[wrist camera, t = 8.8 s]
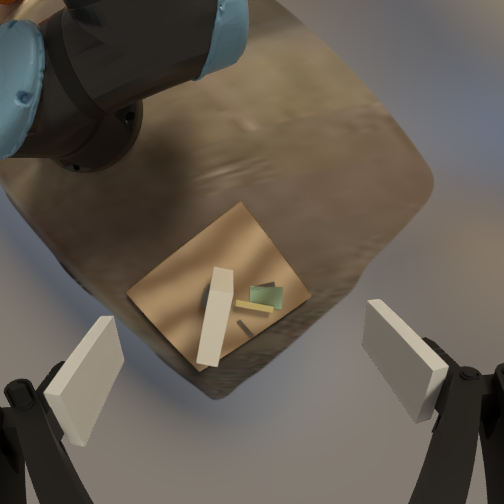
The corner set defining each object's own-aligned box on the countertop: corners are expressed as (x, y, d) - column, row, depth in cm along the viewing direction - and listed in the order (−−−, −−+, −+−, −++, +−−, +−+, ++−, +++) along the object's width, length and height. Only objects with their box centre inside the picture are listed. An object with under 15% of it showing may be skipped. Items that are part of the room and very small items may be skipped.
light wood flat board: (128, 288, 43) (125, 293, 41) (240, 200, 41) (240, 201, 39) (200, 366, 47) (199, 372, 45) (309, 292, 45) (312, 296, 43)
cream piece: (197, 322, 43) (189, 361, 33) (208, 260, 41) (201, 287, 31) (264, 334, 44) (272, 375, 34) (280, 275, 42) (293, 305, 32)
